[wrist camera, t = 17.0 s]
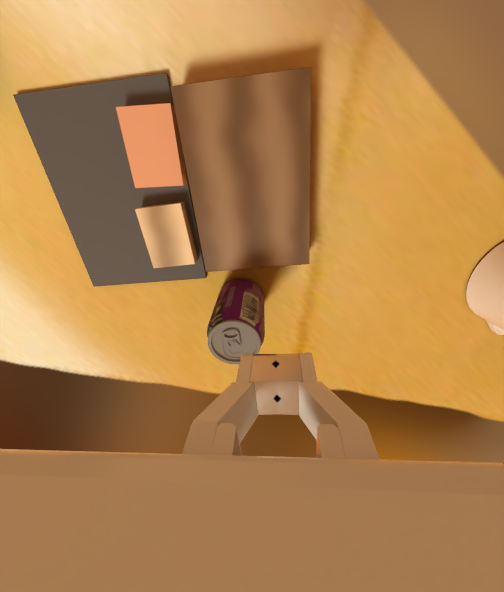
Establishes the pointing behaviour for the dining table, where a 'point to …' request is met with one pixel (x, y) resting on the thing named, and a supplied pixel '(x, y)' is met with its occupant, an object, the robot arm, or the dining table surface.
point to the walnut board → (249, 167)
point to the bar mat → (103, 176)
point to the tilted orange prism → (153, 145)
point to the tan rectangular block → (167, 234)
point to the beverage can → (237, 321)
